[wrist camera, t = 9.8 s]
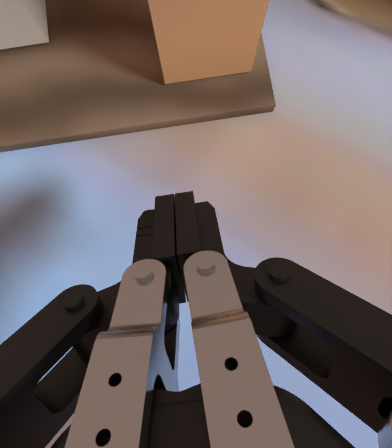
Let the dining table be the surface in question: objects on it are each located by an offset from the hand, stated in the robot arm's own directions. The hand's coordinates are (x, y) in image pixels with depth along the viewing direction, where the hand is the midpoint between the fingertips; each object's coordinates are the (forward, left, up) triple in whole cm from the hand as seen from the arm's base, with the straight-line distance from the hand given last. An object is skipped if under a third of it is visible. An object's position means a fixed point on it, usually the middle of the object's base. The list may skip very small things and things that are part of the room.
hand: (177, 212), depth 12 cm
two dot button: (-12, -9, -10) cm, 18 cm away
